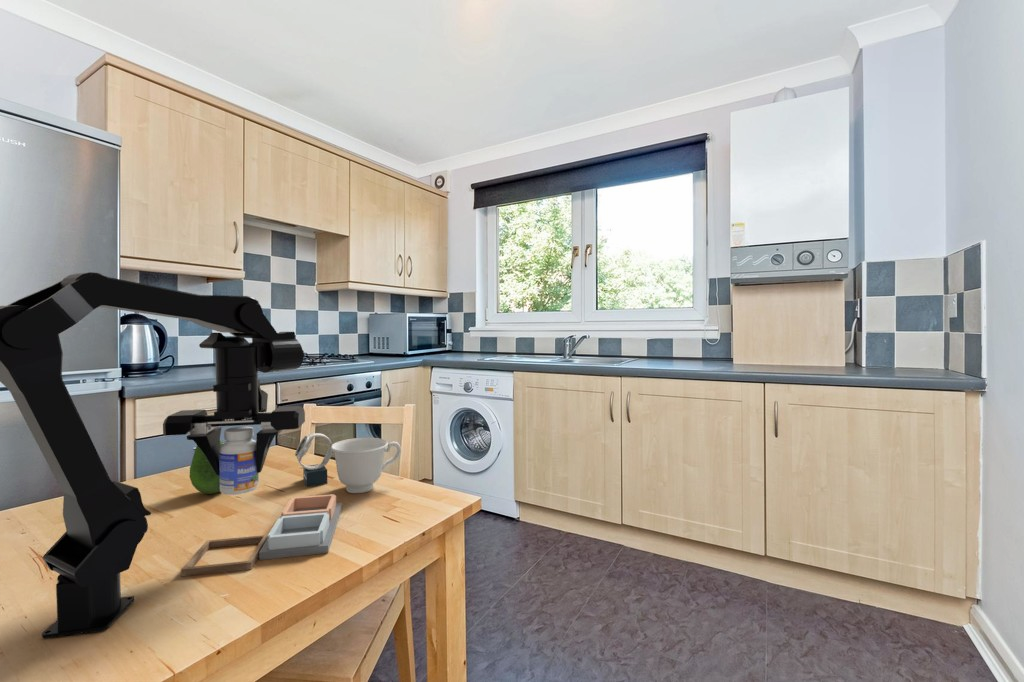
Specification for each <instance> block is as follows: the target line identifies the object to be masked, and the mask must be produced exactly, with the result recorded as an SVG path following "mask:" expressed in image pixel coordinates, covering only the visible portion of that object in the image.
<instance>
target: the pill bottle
mask: <svg viewBox="0 0 1024 682" xmlns="http://www.w3.org/2000/svg"><path fill="white" fill-rule="evenodd" d="M223 435H224V436H223V438H224V440H225V442H222V443H223V444H222V445H221V446H220V449H219V470H220V493H222V494H223V495H231V496H232V495H233V496H234V495H241V494H247V493H249V492H253V491H255V490H256V489H258V487H259V483H260V482H259V481H260V479H259V477H260V473H257V468H256V440H255V439H253V437H254V427H252V426H248V425H244V426H233V427H230V428H229V427H228V428H226V429H225V430H224V434H223Z"/></svg>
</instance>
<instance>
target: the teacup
mask: <svg viewBox="0 0 1024 682" xmlns="http://www.w3.org/2000/svg"><path fill="white" fill-rule="evenodd" d="M332 444H333V445H332V446H331V449H332V450H333V454H334V458H335V459H334V460H335V465H336V472H337V477H338V480H339V481H340V483H341V484H342V485H344V486H346V489H345V490H346V492H348V493H351V494H363V493H366V492H367V493H368V492H370V491H372V490H373V489H374V488H375V487H374V483H376V482H377V481H378V480H379V479H380V477H381V475H382V472H383V470H384V469H385V468H386V466H388V465H389V464H392V463H394V462H396V461H397V460H398V459H399V458H400V456H401V455H402V454H401V453H402V448H401V445H400V444H399V442H397V441H391V442H389V443H388V441H387V440H386V439H383V438H378V437H353V438H348V439H343V440H339V441H336V442H334V443H332ZM392 447H396V453H395V455H393V456H392V457H391V458H388V459H387V460H386V461H384V456H385V453H389V452H391V448H392Z"/></svg>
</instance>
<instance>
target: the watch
mask: <svg viewBox="0 0 1024 682" xmlns="http://www.w3.org/2000/svg"><path fill="white" fill-rule="evenodd" d="M316 437H318V438H319V437H321V438H324V439H326V440H327V441H328V442H329V444H328V448H327V451H326V454H325V455H324V457H323V458H322V461H321V462H320V463H317V464H310V465H307V464H304V463H302V458H303V457H305V455H306V454H307V453H308V451H309V449H310V447H311V445H312V441H313V440H314V438H316ZM333 444H334V443H333V441H332V440H331V439H330V438H329V437H328V436H327V435H325V434H323V433H320V432H314V433H310V434H308V435H305V436H303V438H302V439H301V441H300V442H299V443H298V445H297V447H296V450H295V452H294V454H295V455H294V456H295V457H296V459H297V461H298V463H299V465H300V466H301V467H302V468H303V470H302V471H303V473H302V475H303V482H304V484H305V485H306V487H308V488H309V487H313V486H318V485H319V486H321V485H326V484H328V469H327V468H326V466H327V464H328V463H329V461H330V459H331V458H332V455H333V454H334V452H333V450H332V449H331V446H332V445H333Z"/></svg>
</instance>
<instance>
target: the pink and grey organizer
mask: <svg viewBox="0 0 1024 682" xmlns="http://www.w3.org/2000/svg"><path fill="white" fill-rule="evenodd" d="M342 510H343V503H342V502H337V495H335V493H333V494H331V493H329V494H318V495H309V496H307V495H306V496H294V497H292V498H290V499H289V500H288V502H287V503H286V505H285V507H284V509H283V510H282V512H281V516H280V517H279V518H277V519H276V521H275V522H274V524H273V526H272V528H271V529H270V530H269V532H268V534H267V535H268V539H267V541H266V542H265V544H264V545H263V547H262V549H261V550H260V552H259V557H258V560H260V561H262V560H271V559H281V558H282V559H283V558H292V557H301V556H302V557H303V556H311V555H318V554H321V555H322V554H328V553H329V551H330V548H331V545H332V542H333V539H334V535H335V533H336V529H337V525H338V522H339V519H340V518H341V517H340V515H341V513H342Z"/></svg>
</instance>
